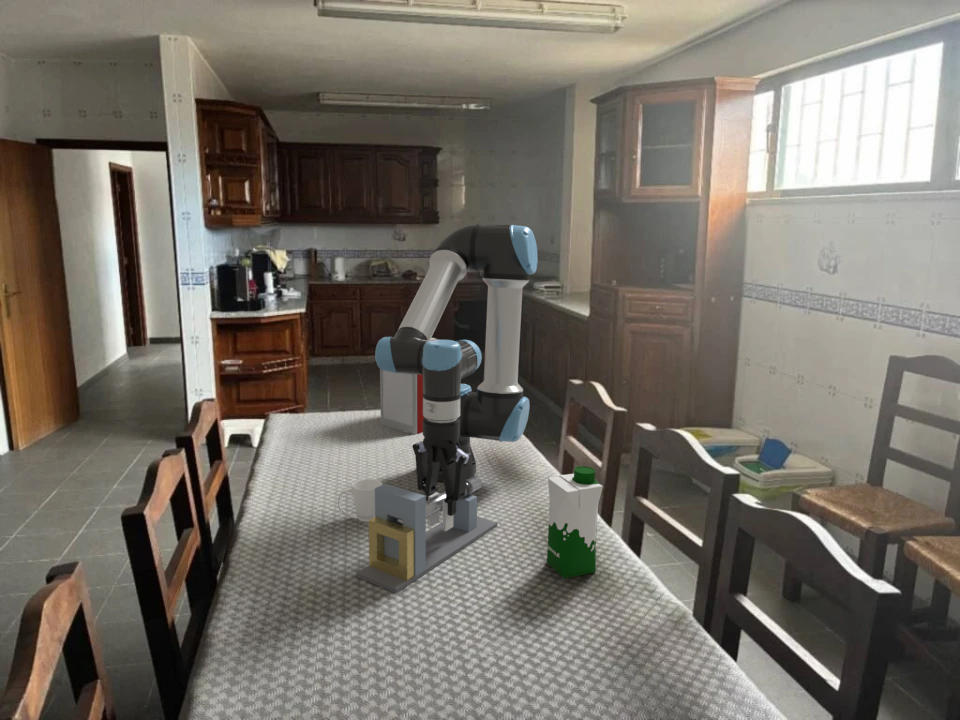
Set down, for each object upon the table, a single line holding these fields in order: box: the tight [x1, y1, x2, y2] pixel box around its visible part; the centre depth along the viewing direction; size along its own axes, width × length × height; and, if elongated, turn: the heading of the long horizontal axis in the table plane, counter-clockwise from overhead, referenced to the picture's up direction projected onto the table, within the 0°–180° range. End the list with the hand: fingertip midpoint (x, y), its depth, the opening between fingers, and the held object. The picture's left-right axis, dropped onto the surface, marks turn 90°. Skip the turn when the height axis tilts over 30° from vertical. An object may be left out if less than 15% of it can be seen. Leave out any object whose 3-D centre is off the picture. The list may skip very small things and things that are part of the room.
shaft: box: [393, 475, 483, 526], centre depth 145 cm, size 26×3×3 cm, turn 146°
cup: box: [337, 478, 383, 523], centre depth 158 cm, size 7×10×8 cm
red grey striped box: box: [379, 337, 439, 435], centre depth 226 cm, size 17×18×27 cm
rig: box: [355, 483, 498, 594], centre depth 143 cm, size 34×10×16 cm, turn 146°
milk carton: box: [546, 465, 604, 580], centre depth 137 cm, size 9×9×20 cm
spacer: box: [368, 517, 414, 581], centre depth 134 cm, size 2×10×10 cm, turn 56°
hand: (440, 525), depth 147 cm, fingers closed on shaft, 3 cm apart
